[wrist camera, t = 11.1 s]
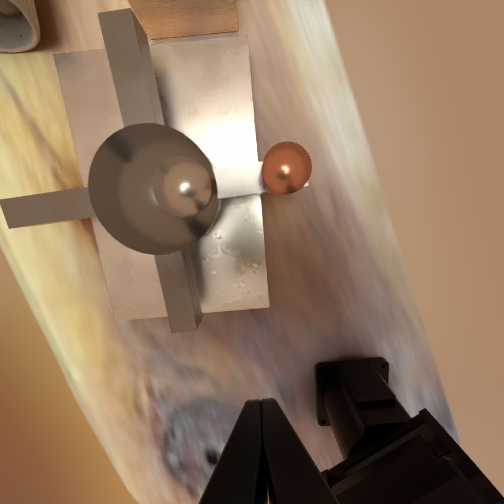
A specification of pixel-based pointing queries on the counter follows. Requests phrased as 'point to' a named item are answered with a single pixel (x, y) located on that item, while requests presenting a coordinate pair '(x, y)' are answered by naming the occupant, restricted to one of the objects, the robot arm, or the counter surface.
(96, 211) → the capstan
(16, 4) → the ceramic mug
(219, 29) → the stand
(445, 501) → the robot arm
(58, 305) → the counter surface
